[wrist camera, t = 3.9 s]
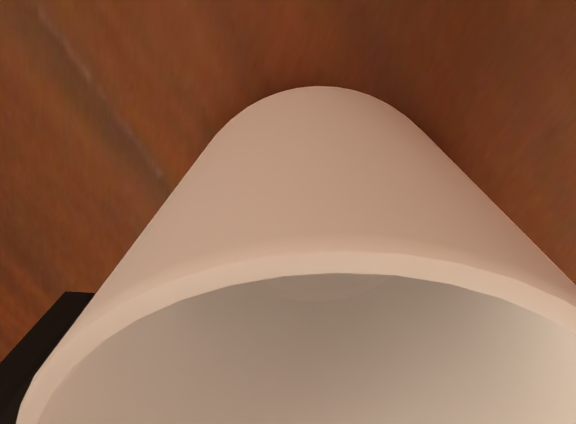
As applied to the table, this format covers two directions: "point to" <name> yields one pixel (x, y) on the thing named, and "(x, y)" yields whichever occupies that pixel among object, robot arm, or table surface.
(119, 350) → the mug
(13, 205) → the table surface
